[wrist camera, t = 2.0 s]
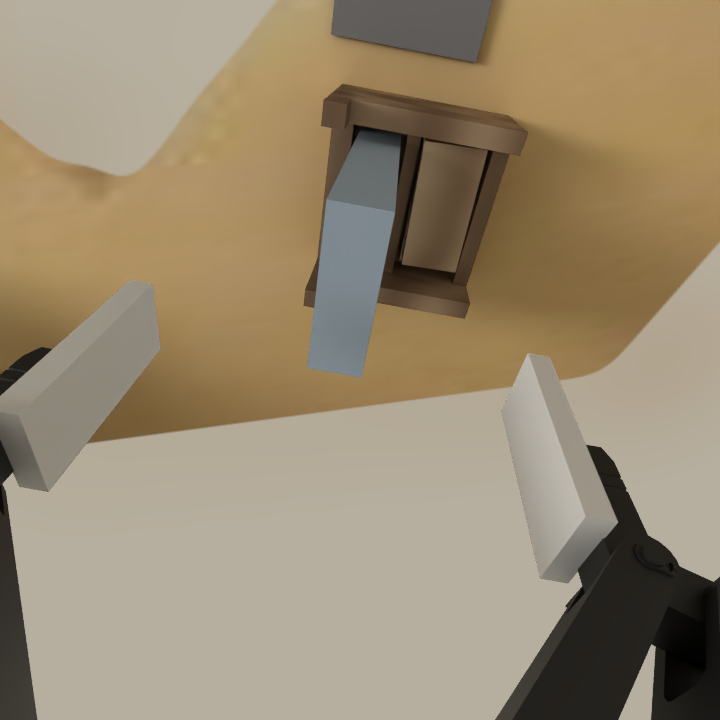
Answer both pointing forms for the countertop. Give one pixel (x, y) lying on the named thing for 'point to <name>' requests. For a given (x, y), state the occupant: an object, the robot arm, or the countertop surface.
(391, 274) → the rack
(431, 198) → the offcut top
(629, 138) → the countertop surface
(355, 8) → the mat
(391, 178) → the blue rectangular block
